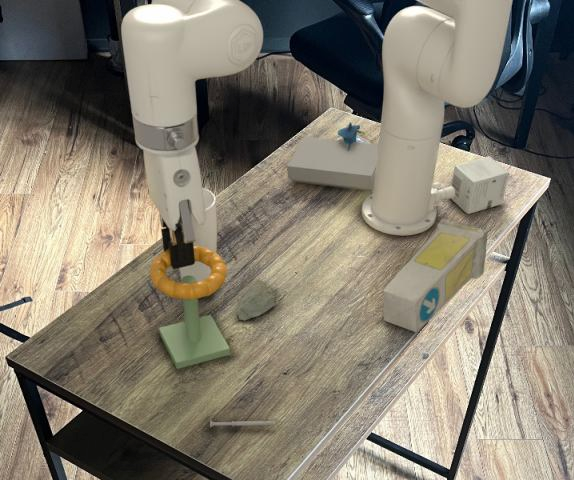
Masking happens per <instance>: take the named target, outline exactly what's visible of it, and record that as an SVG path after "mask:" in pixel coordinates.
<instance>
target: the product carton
mask: <svg viewBox="0 0 574 480" xmlns="http://www.w3.org/2000/svg"><path fill="white" fill-rule="evenodd" d="M509 177H510V171H508V170H507V169H506V168H505V167H503V166H502V165H501V164H500V163H498V162H497V161H496V160H495V159H493V158H492V157H491V156H490V155H488V156H483V157H481V158H477V159H474V160H470V161H465V162H461V163H458V164H455V165H454V168H453V172H452V179H451V183H450V187H451V186H452V187H454V189H455V197H454V198H451V199H450V200H452V201H453V202H454V203H455V204H456V205H457V206H458V207H459V208H460V209H461V210H462V211H463V212H464V213H466V214H467V215H470V214H473V213H477V212H480V211H484V210H487V209H491V208H493V207H497V206H500V205H503V202H504V198H505V194H506V188H507V185H508V180H509Z"/></svg>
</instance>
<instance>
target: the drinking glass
mask: <svg viewBox="0 0 574 480" xmlns="http://www.w3.org/2000/svg"><path fill="white" fill-rule="evenodd" d="M202 189H203V197H204V206H205V215H206V221H205V224H203V225H198V223H197V222H196V220H195V218H194V217H193V215H192V214H191V219H192V224H193V229H194V234H195V242H193V245H194V246H202V247H205V248H207V249H209V250H211V251H213V252H215V253H217V254H218V232H219V231H218V230H219V229H218V228H219V226H218V225H219V223H218V218H219V217H218V207H217V206H218V205H217V198H216V195H215V194H214V193H213V192H212V191H211V190H209V189H207V188H205V187H202ZM178 271H179V277H180V281H181V280H182V278H183V277H185V276H193V277H195V278H196V282H199V281H203V280H205V279H206V278H207V277H208V276H210V275H211V269H210V267H209V266H207V265H205V264H203V263H201V262H197V261H195V263H194V264H193V265H190V266H186V267H182V268H178Z"/></svg>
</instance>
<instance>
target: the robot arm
mask: <svg viewBox="0 0 574 480" xmlns="http://www.w3.org/2000/svg"><path fill="white" fill-rule="evenodd" d="M416 1H417V2H419V3H421V4H422V5H425V6H421V5H412V6H408V7H405V8H403V9H401V10H400V11H397V13H396V14H395V15H394V16H393V17H392V18H391V20H390V21H389V23H388V25H387V26H386V29H385V32H384V36H383V39H382V46H381V47H382V49H381V60H382V73H383V101H382V109H381V110H382V111H381V119H380V128H379V135H378V136H379V137H378V143H377V144H378V153H377V162H376V170H375V179H374V184H373V187H372V188H373V189H372V193H371V194H369V195H368V196H367V197H366V198H365V199H364V200H363V202H362V205H361V216H362V218H363V220H364V221H365V223H366V224H368V225H369V227H371V228H372V229H374V230H376V231H378V232H380V233H383V234H388V235H391V236H402V237H404V236H413V235H418V234H421V233H424V232H425V231H427V230H429V229H430V228H431V227H433V226H434V224H435V222H436V219H437V208H436V205H437V204H440V201H447V200H452V199H451V198H454V197H455V189H454V187H452V186H451V185H450V186H447V187H442V184H441V182H439V181H436V182H434V178H435V171H436V166H437V161H438V155H439V150H440V145H441V144H440V143H441V137H442V131H443V128H444V121H445V103H447V104H450V105H452V106H455V107H458V108H462V109H464V108H465V109H466V108H472V107H475V106H476V105H479V104H480V103H481V102H483V100H484V99H485V98H486V96H488V95H489V93H490V91H491V89H492V87H493V85H494V83H495V81H496V78H497V75H498V71H499V69H500V65H501V60H502V56H503V55H502V54H503V51H504V46H505V41H506V37H507V30H508V26H509V20H510V17H511V16H510V15H511V11H512V5H513V1H514V0H416ZM426 6H427V7H426ZM120 26H121V27H120V30H121V33H120V34H121V43H122V49H123V56H124V57H123V58H124V64H125V71H126V72H125V73H126V78H127V79H126V80H127V86H128V95H129V101H130V109H131V110H130V111H131V114H132V115H131V117H132V124H133V132H134V140H135V143H136V146H137V147H139V148H140V150H142V151H143V153H142V154H143V164H144V171H145V179H146V184H147V189H148V194H149V196H150V199H151V201H152V203H153V205H154V206H155V208H156V209H157V211H158V214H159V222H160V225H161V229H160V230H161V238H162V240H161V241H162V247H163V252H164V251H166V250H167V249H169V251H170V260H171V266H170V267H171V269H173V270H177V269H178V270H179V268H182V267H186V266H190V265H193V264H194V263H195V257H194V245H193V242H195V234H194V229H193V224H192V219H191V214H192V215H193V217H194V218H195V220H196V222H197V223H198V225H203V224H205V221H206V215H205V206H204V197H203V189H202V188H203V182H202V175H201V174H202V173H201V169H200V163H199V158H198V153H197V149H196V145H197V144H198V143H199V140H200V134H199V121H198V106H197V104H198V103H197V91H196V81H198V80H203V79H210V78H219V77H227V76H231V75H235V74H238V73H240V72H242V71H244V70H246V69H247V68H249V67H250V66H251V65H252V64H254V62H255V61H256V60H257V58H258V56H259V55H260V53H261V51H262V47H263V43H264V30H263V26H262V23H261V20H260V18H259V16H258V15H257V14H256V12H255V11H254V10H253V9H252V8H251V7H250V6H249V5H247V4H246V3H245V2H243V1H241V0H151V3H150V4H143V5H139V6H136V7H134V8H132V9H130V10H128V12H127V13H126V14H125V15H124V16H123V18H122V22H121V25H120Z"/></svg>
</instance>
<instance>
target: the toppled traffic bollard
mask: <svg viewBox="0 0 574 480" xmlns="http://www.w3.org/2000/svg"><path fill="white" fill-rule="evenodd" d="M487 244H488V230H486V229H482V228H479V227H476V226H472V225H468V224H464V223H461V222H458V221H455V220H452V219H447V218H442V219H441V220H440V221H439V222H438V223H437V227H436V231H434V233H433V234H432V235H431V236H430V238H429V239H428V240H426V242H425V243H424V244H423V245H422V246H421V247H420V249H419V250H418V251H417V252H416V253H415V254H414V255H413V256H412V257H411V258H410V260H408V261H407V263H406V264H405V265H403V268H401V269H400V270H399V271H398V272H397V273H396V274H395V276H394V277H393V278H392V279H391V281H390V282H388V284H387V285H386V286H385V287H384V288H383V290H382V292H383V293H382V295H383V298H382V299H383V321H384V322H387V323H389V324H392V325H395V326H397V327H401V328H404V329H406V330H408V331H412V332H414V333H415V334H416V333H417V332H419V331H420V330H421V329H422V328H423V327H424V326H425V325H426V324H427V323H428V322H429V321H430V320H431V319H433V317H434V316H436V315H437V313H438V312H439V311H441V309H442V308H443V307H444V306H445V305H446V304H448V303H449V301H450V300H451V299H452V298H453V297H455V296H456V294H458V292H459V291H460V290H461V289H463V287H465V285H467V283H468V282H470V281H471V280H472V279H473V280H474V279H475V280H478V279H479V278H481V276H483V275H484V273H485V272H484V271H485V265H486V258H487Z"/></svg>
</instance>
